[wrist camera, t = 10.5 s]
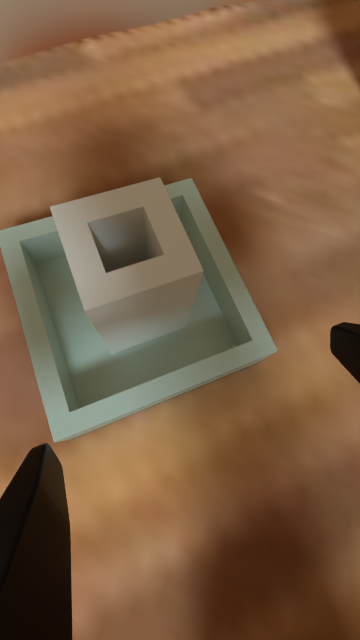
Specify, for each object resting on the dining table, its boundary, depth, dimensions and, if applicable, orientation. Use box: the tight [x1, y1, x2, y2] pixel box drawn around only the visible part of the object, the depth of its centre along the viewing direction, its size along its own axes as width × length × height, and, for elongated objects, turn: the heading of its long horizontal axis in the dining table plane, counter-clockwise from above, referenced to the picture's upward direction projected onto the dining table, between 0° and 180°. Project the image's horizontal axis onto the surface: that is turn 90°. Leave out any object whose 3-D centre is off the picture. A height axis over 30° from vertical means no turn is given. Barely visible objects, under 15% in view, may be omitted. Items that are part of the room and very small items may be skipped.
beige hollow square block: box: [50, 177, 204, 355], centre depth 19 cm, size 6×6×9 cm
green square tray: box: [0, 178, 278, 442], centre depth 22 cm, size 14×14×4 cm
